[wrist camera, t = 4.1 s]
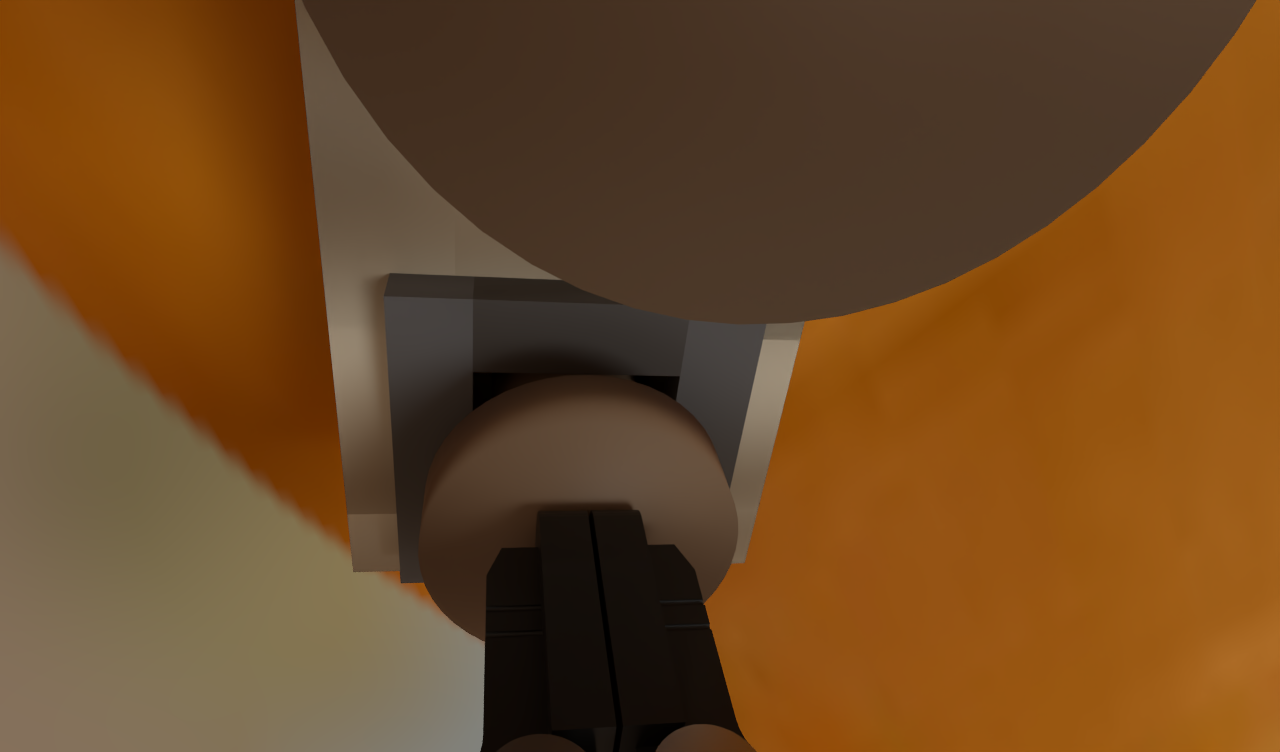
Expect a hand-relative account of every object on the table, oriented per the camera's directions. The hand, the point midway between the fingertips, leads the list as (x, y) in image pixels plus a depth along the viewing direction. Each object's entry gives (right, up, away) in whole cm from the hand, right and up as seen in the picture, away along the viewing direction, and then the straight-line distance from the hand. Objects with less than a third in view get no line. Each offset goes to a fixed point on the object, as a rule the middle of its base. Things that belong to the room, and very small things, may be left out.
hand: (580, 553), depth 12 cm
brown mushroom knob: (-1, +4, +6) cm, 7 cm away
